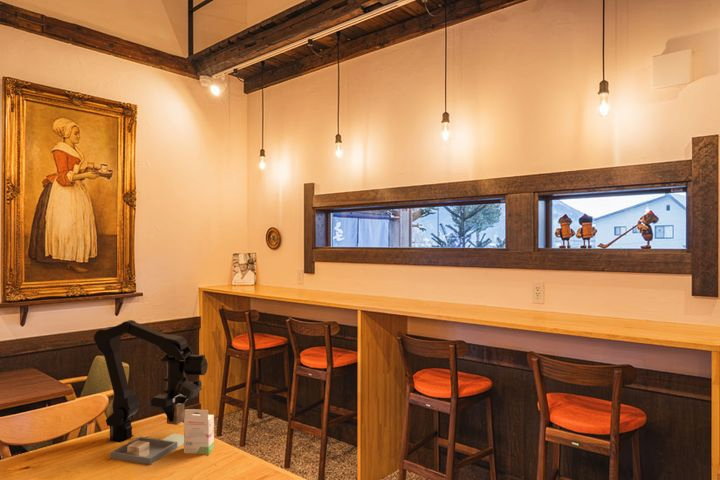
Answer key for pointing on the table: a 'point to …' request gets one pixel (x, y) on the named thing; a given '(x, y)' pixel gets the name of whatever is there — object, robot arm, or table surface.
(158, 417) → the table surface
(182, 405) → the walnut box
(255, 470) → the table surface
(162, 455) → the grey tray
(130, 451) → the beech box
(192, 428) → the ink box
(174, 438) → the sage tile
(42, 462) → the table surface
